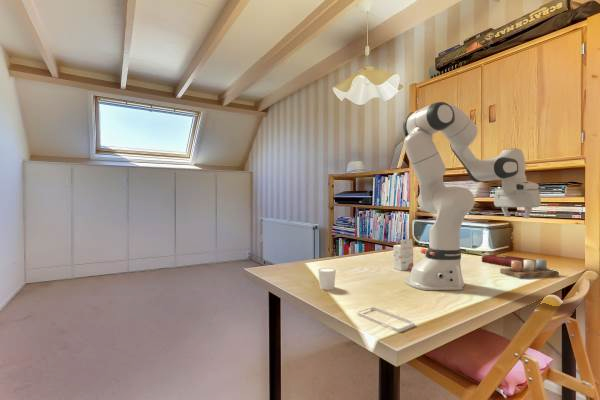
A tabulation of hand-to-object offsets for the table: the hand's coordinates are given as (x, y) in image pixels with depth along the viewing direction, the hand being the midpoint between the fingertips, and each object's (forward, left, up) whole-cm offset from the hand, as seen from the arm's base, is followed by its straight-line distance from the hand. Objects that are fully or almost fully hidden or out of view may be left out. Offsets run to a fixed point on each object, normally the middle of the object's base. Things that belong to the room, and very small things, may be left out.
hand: (516, 217), depth 132 cm
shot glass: (-86, 0, -26) cm, 90 cm away
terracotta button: (+1, +2, -24) cm, 24 cm away
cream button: (+8, +1, -24) cm, 25 cm away
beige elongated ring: (-78, -33, -27) cm, 89 cm away
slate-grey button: (+14, +1, -24) cm, 28 cm away
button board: (+8, +1, -26) cm, 27 cm away
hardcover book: (+16, +21, -26) cm, 37 cm away
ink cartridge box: (-41, +24, -26) cm, 54 cm away
